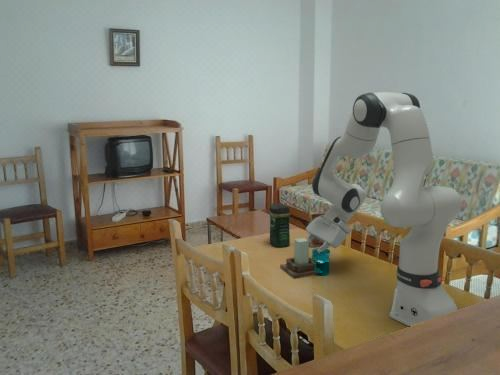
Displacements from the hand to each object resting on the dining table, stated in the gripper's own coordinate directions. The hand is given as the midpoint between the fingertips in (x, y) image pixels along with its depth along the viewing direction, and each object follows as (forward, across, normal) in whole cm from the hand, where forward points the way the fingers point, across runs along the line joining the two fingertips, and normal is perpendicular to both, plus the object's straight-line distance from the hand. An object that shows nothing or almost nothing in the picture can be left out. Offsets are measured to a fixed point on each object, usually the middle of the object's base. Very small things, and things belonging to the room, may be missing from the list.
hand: (311, 248), depth 183 cm
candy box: (-6, -23, +18) cm, 30 cm away
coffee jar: (+5, -32, +7) cm, 33 cm away
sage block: (+8, 0, +2) cm, 8 cm away
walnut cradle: (+9, 0, +3) cm, 9 cm away
